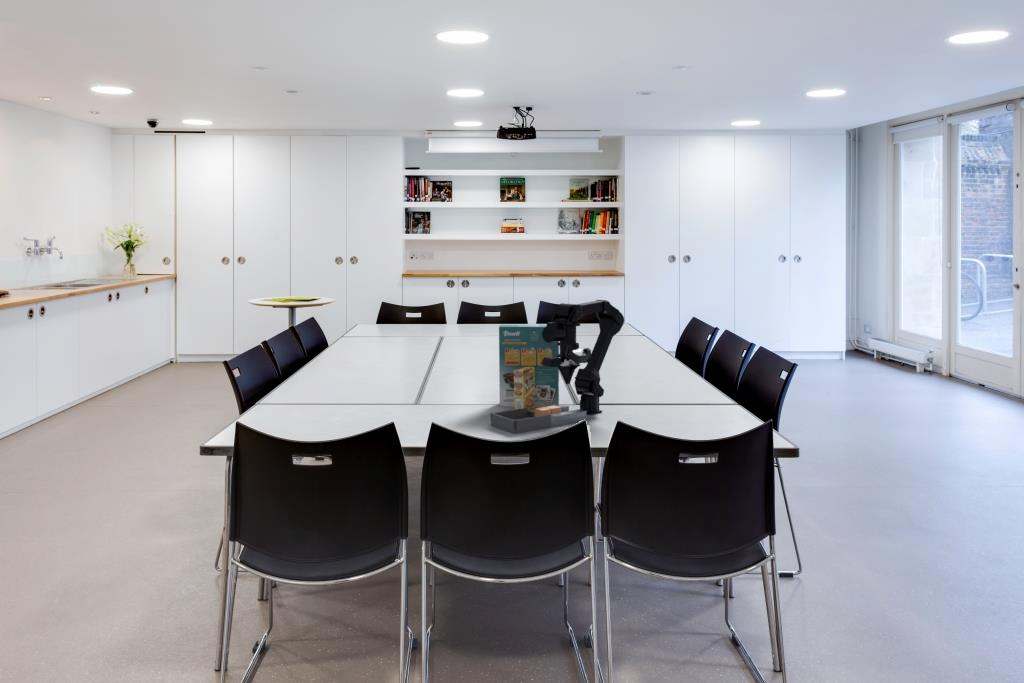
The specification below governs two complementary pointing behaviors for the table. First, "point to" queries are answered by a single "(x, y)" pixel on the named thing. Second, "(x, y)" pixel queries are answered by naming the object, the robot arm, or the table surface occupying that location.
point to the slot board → (564, 416)
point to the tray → (519, 421)
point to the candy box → (524, 388)
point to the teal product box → (527, 363)
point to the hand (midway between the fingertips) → (567, 384)
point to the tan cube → (542, 411)
